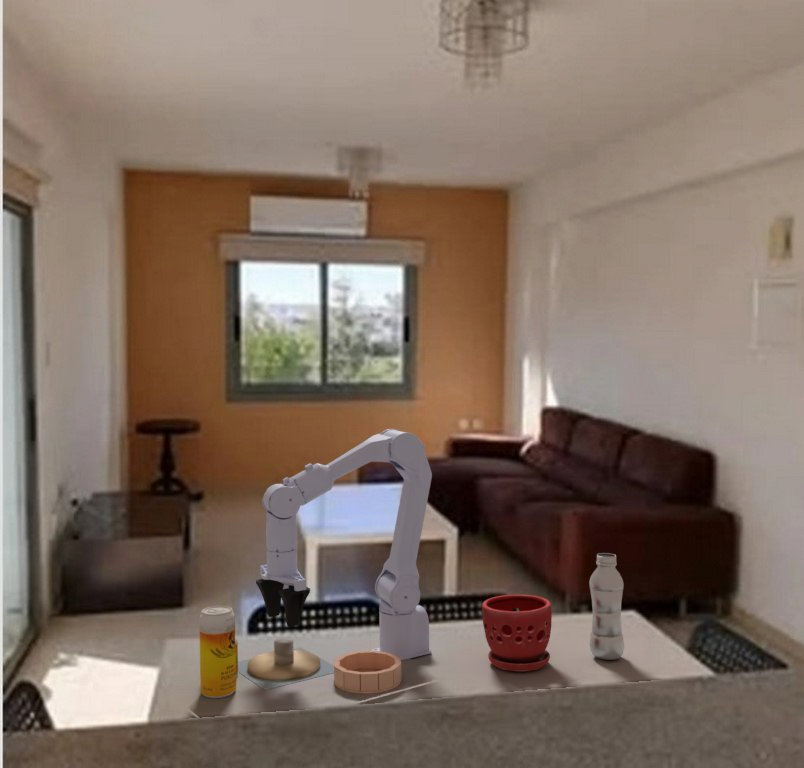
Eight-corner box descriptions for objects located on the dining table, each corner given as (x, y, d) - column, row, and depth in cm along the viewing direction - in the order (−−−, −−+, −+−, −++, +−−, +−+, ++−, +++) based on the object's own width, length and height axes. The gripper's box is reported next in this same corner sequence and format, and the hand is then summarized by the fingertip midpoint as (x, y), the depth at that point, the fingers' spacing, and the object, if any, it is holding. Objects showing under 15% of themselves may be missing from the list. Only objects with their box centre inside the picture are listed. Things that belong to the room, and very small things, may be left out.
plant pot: (548, 652, 179) (548, 592, 178) (555, 677, 165) (554, 612, 165) (481, 651, 179) (481, 591, 179) (483, 676, 166) (482, 611, 166)
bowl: (377, 667, 172) (376, 646, 172) (414, 686, 162) (413, 664, 162) (322, 681, 165) (321, 659, 165) (357, 702, 155) (357, 679, 155)
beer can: (228, 702, 155) (226, 615, 155) (195, 700, 156) (193, 614, 156) (241, 689, 161) (239, 605, 161) (209, 686, 162) (207, 604, 162)
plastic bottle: (605, 666, 171) (605, 560, 170) (582, 655, 177) (582, 553, 176) (631, 660, 174) (631, 556, 173) (608, 649, 180) (608, 549, 179)
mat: (301, 649, 182) (300, 647, 182) (342, 672, 169) (342, 670, 169) (227, 666, 173) (226, 664, 173) (265, 692, 160) (265, 689, 160)
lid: (298, 650, 180) (298, 625, 180) (333, 670, 169) (333, 643, 169) (235, 664, 172) (235, 639, 172) (268, 686, 161) (267, 658, 161)
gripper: (245, 545, 173) (246, 615, 174) (281, 559, 161) (282, 634, 162) (278, 540, 177) (279, 608, 178) (315, 553, 165) (316, 627, 166)
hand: (283, 620), depth 170 cm, fingers open, 7 cm apart
